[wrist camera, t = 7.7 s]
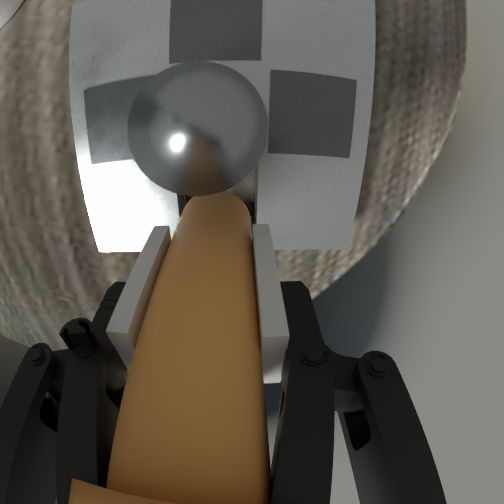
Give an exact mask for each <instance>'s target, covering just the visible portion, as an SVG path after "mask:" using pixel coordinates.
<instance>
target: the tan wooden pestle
mask: <svg viewBox="0 0 504 504" xmlns="http://www.w3.org/2000/svg"><path fill="white" fill-rule="evenodd" d="M265 405H266V404H265V392H264V379H263V367H262V357H261V348H260V335H259V322H258V309H257V297H256V284H255V271H254V259H253V246H252V230H251V218H250V213H249V210H248V208H247V206H246V205H245V204H244V202H243V201H242V200H241V199H240V198H238V197H237V196H236V195H234V194H232V193H230V192H227V191H222V192H219V193H216V194H212V195H207V196H194V197H192V198H191V199H190V200H189V201H188V203H187V204H186V206H185V207H184V210H183V212H182V215H181V217H180V220H179V222H178V224H177V227H176V230H175V232H174V235H173V237H172V240H171V242H170V245H169V248H168V250H167V253H166V256H165V258H164V261H163V264H162V267H161V269H160V272H159V275H158V278H157V281H156V284H155V286H154V289H153V292H152V295H151V298H150V301H149V304H148V308H147V311H146V314H145V317H144V320H143V323H142V327H141V330H140V333H139V337H138V340H137V344H136V347H135V351H134V354H133V358H132V361H131V365H130V369H129V373H128V377H127V381H126V385H125V389H124V393H123V397H122V401H121V406H120V410H119V415H118V420H117V424H116V429H115V434H114V440H113V445H112V451H111V457H110V463H109V469H108V476H107V484H106V488H103V487H99V486H96V485H93V484H90V483H87V482H83V481H80V480H77V479H74V478H72V482H71V489H70V496H69V504H269V503H270V495H271V485H272V481H271V468H270V455H269V444H268V431H267V417H266V406H265Z"/></svg>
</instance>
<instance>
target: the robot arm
mask: <svg viewBox="0 0 504 504" xmlns="http://www.w3.org/2000/svg"><path fill="white" fill-rule="evenodd" d="M170 242H171V234H170V227H169V225H168V226H154V228H153V229H152V231H151V233H150V235H149V237H148V239H147V241H146V243H145V245H144V247H143V249H142V251H141V253H140V255H139V257H138V259H137V261H136V263H135V265H134V267H133V269H132V271H131V274H130V276H129V278H128V280H127V282H115V283H114V284H113V285H112V286H111V287H110V288H109V289H108V290H107V292H106V294H105V296H104V298H103V301H102V302H101V304H100V306H99V307H100V308H98V310H97V312H96V315H95V317H94V319H93V321H92V323H91V321H89V320H88V319H86V318H77V319H73V320H71V321H69V322H67V323H66V324H65V325H64V326H63V327H62V329H61V331H60V333H59V334H60V336H61V337H62V339H63V340H64V342H65V343H66V345H67V346H68V348H69V349H65V350H58V351H52V350H51V348H50V347H49V345H47V344H45V343H38V344H35V345H33V346H32V347H31V348H29V350H28V351H27V352H26V354H25V356H24V358H23V360H22V362H21V364H20V366H19V368H18V370H17V372H16V374H15V377H14V379H13V381H12V383H11V385H10V387H9V390H8V392H7V395H6V397H5V399H4V402H3V404H2V407H1V409H0V504H55V501H56V495H57V504H69V496H70V489H71V482H72V478H74V479H77V480H80V481H83V482H87V483H90V484H93V485H96V486H99V487H103V488H106V484H107V476H108V469H109V463H110V457H111V451H112V445H113V440H114V434H115V429H116V424H117V420H118V415H119V410H120V406H121V401H122V397H123V393H124V389H125V385H126V381H125V375H126V372H127V371H128V373H129V369H130V365H131V361H132V358H133V354H134V351H135V347H136V344H137V340H138V337H139V333H140V330H141V327H142V323H143V320H144V317H145V314H146V311H147V308H148V304H149V301H150V298H151V295H152V292H153V289H154V286H155V284H156V281H157V278H158V275H159V272H160V269H161V267H162V264H163V261H164V258H165V256H166V253H167V250H168V248H169V245H170ZM252 246H253V259H254V271H255V284H256V297H257V309H258V322H259V335H260V348H261V357H262V367H263V379H264V383H279V382H280V381H281V377H282V385H283V389H282V393H281V398H280V401H279V402H280V409H279V416H278V424H277V431H276V438H275V445H274V451H273V458H272V464H271V481H272V485H271V495H270V503H269V504H330V495H331V483H332V468H333V449H334V411H337V412H338V416H339V419H340V423H341V427H342V430H343V434H344V438H345V442H346V446H347V450H348V454H349V458H350V462H351V466H352V470H353V475H354V478H355V483H356V487H357V492H358V496H359V501H360V504H447V503H446V500H445V496H444V492H443V488H442V485H441V481H440V478H439V475H438V471H437V468H436V465H435V462H434V459H433V456H432V453H431V450H430V447H429V444H428V442H427V439H426V436H425V433H424V431H423V428H422V425H421V423H420V420H419V417H418V415H417V413H416V410H415V407H414V405H413V402H412V400H411V398H410V395H409V393H408V390H407V388H406V386H405V383H404V381H403V379H402V377H401V374H400V372H399V370H398V367H397V366H396V363H395V362H394V360H393V359H392V357H390V356H389V355H387V354H386V353H383V352H380V351H370V352H367V353H365V354H364V355H363V356H362V357H361V358H360V359H359V358H353V357H347V356H342V355H339V354H336V353H334V352H333V351H331V350H330V349H329V348H328V346H327V345H325V343H324V341H323V339H322V335H321V331H320V328H319V324H318V320H317V317H316V314H315V310H314V306H313V303H312V301H311V300H312V299H311V296H310V293H309V289H308V288H307V287H306V286H305V285H304V284H303V283H302V282H301V281H286V282H280V280H279V275H278V269H277V264H276V259H275V254H274V248H273V243H272V238H271V233H270V228H269V224H253V227H252ZM47 392H48V393H49V395H48V397H46V398H45V396H46V393H47Z"/></svg>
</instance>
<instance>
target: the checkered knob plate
mask: <svg viewBox="0 0 504 504" xmlns="http://www.w3.org/2000/svg"><path fill="white" fill-rule="evenodd" d="M375 38H376V23H375V0H82V1H80V2H77V3H75V4H73V6H72V15H71V26H70V44H69V83H70V101H71V114H72V124H73V133H74V140H75V147H76V154H77V160H78V166H79V172H80V177H81V182H82V187H83V192H84V196H85V200H86V205H87V209H88V213H89V217H90V221H91V225H92V228H93V232H94V236H95V239H96V242H97V246H98V249H99V252H128V251H142V249H143V247H144V245H145V243H146V241H147V239H148V237H149V235H150V233H151V231H152V229H153V228H154V226H168V225H169V227H170V234H171V240H172V237H173V235H174V232H175V230H176V227H177V224H178V222H179V220H180V217H181V215H182V212H183V210H184V207H185V206H186V204H187V203H186V196H207V195H212V194H216V193H219V192H222V191H225V190H227V189H229V188H231V187H233V186H234V185H236V184H237V183H239V182H240V181H242V180H243V179H244V178H245V177H246V176H247V175H248V174H249V173H250V172H251V171H252V170H253V169H254V167H255V196H254V216H250V218H251V230H252V227H253V224H269V228H270V233H271V238H272V243H273V248H274V250H310V249H348V247H349V243H350V238H351V234H352V229H353V225H354V220H355V215H356V210H357V205H358V200H359V194H360V189H361V183H362V177H363V171H364V165H365V158H366V152H367V144H368V137H369V128H370V120H371V110H372V99H373V86H374V70H375Z"/></svg>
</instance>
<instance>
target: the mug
mask: <svg viewBox="0 0 504 504" xmlns="http://www.w3.org/2000/svg"><path fill="white" fill-rule="evenodd" d="M23 1H24V0H0V28H2V27H3V26H4V25H5V24H6V23H7V22H8V21H9V20H10V19H11V18H12V16H13V15H14V14H15V13H16V11H17V10H18V9H19V7H20V6H21V4H22V2H23Z"/></svg>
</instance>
